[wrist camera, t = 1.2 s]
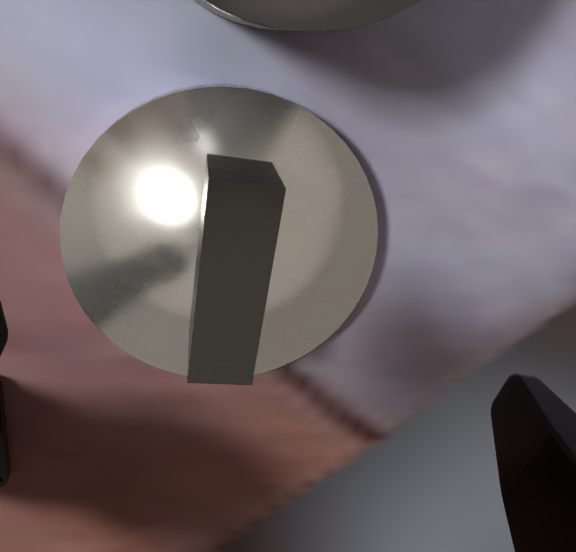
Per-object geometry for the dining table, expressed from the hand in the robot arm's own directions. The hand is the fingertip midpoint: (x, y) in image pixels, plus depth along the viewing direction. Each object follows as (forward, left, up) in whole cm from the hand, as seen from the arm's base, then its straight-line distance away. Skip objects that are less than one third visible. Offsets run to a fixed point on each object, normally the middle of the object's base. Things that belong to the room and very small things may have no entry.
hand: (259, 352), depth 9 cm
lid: (-3, 0, -13) cm, 13 cm away
